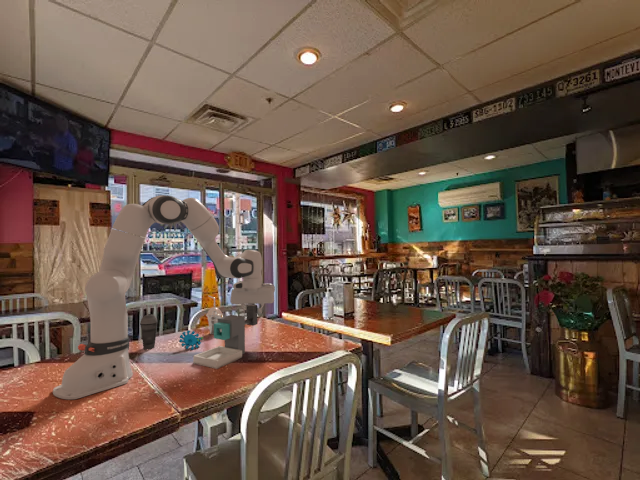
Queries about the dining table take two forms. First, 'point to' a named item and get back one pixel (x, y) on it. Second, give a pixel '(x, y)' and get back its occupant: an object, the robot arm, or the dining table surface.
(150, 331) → the beverage cup
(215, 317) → the cup with straw
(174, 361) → the dining table surface
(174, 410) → the dining table surface
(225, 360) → the tray
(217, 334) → the spacer
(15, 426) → the dining table surface
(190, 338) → the teal virus model
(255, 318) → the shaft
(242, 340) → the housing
